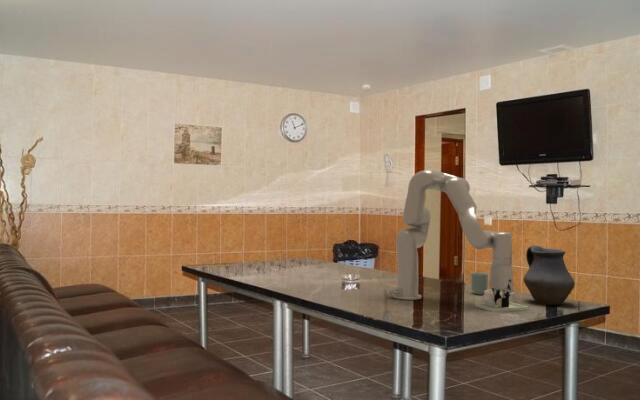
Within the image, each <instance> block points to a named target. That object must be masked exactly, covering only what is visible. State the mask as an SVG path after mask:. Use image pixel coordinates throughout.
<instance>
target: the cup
mask: <svg viewBox="0 0 640 400" xmlns="http://www.w3.org/2000/svg"><path fill="white" fill-rule="evenodd" d="M488 286H489V273H487V272H478V271H474V272H471V273H470V287H471V288H470V289H471V291H472V293H473V294H475V295H481V296H482V295H483V296H484V291H486V290H488Z"/></svg>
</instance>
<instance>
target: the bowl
mask: <svg viewBox="0 0 640 400" xmlns="http://www.w3.org/2000/svg"><path fill="white" fill-rule="evenodd" d="M501 292H502V290H501ZM506 292H507V291H505V293H506ZM515 294H516V293H515V291H514V292H513V293H512V294H511V295H510V298H509V302H512V303H515V297H516V295H515ZM500 295H501V298H503V295H502V294H500ZM494 296H495V295H493V291H492V289H487V290H486V291H484V294H483V301H484V303H485V302H486V300H488V299H493V300H494Z"/></svg>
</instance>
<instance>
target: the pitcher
mask: <svg viewBox="0 0 640 400" xmlns="http://www.w3.org/2000/svg"><path fill="white" fill-rule="evenodd" d="M525 252H526V253H525V255H526V256H525V257H526V258H525V259H526V262H527V265H528V270H527V271H526V273H525V275H524V276H523V278H522V279H523V282H524V283H523V284H524V285H525V287H526V289H528V291H529V293H530V295H531V297H532V299H533V301H534V302H535V303H537V304H540V305H545V306H546V305H547V306H559V305H562V304H564V303H565V301H566V300H567V298H568V297H569V295H570V294H571V293H572V291H573V290H574V288H575V285H576V283H575V280H574V278H573V277H572V276H571V273H570V272H569V270H568V269H567V266H566V263H565V259H564V256H565V254H566V251H565V250H562V249H558V248H556V249H554V248H544V247H542V246H539V245H535V244H534V245H531V246H529V247H527V249H526V251H525Z"/></svg>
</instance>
